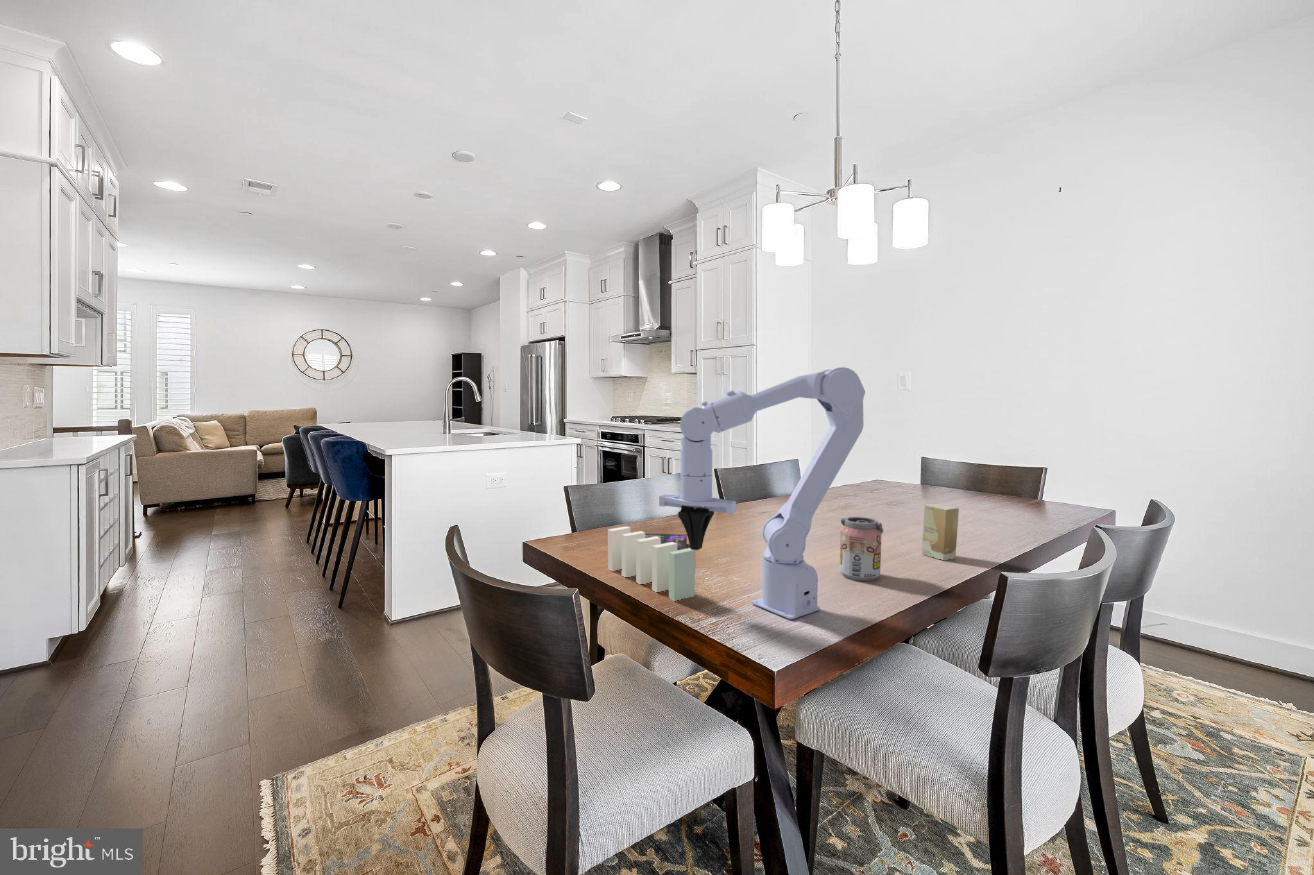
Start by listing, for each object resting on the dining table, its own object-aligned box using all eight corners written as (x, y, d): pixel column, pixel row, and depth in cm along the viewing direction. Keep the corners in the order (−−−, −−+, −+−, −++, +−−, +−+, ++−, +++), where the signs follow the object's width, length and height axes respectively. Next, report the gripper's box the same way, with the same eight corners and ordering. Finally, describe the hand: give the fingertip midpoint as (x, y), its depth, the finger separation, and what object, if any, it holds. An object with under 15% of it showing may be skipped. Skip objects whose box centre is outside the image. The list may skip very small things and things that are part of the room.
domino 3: (660, 580, 115) (660, 537, 115) (640, 585, 112) (640, 541, 112) (656, 578, 117) (655, 536, 116) (636, 583, 114) (636, 539, 113)
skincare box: (920, 554, 135) (922, 504, 134) (933, 552, 136) (935, 502, 135) (944, 561, 129) (946, 509, 128) (957, 559, 131) (959, 507, 130)
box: (685, 571, 125) (687, 545, 144) (686, 555, 124) (687, 532, 144) (623, 568, 126) (633, 543, 145) (623, 553, 125) (633, 530, 145)
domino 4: (677, 588, 111) (677, 543, 110) (656, 593, 108) (656, 547, 107) (672, 585, 112) (672, 541, 112) (651, 591, 109) (652, 545, 109)
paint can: (845, 566, 125) (846, 513, 124) (885, 572, 121) (887, 517, 120) (834, 577, 117) (835, 521, 116) (876, 584, 113) (878, 526, 112)
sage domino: (694, 596, 107) (694, 549, 106) (674, 601, 104) (674, 554, 103) (689, 593, 108) (689, 547, 107) (668, 599, 105) (668, 552, 104)
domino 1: (630, 567, 124) (630, 527, 124) (612, 571, 121) (611, 530, 121) (626, 565, 126) (626, 526, 125) (608, 569, 122) (607, 529, 122)
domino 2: (645, 573, 120) (645, 532, 119) (625, 578, 117) (625, 536, 116) (641, 571, 121) (641, 531, 120) (621, 576, 118) (621, 534, 117)
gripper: (742, 474, 101) (741, 548, 102) (671, 469, 108) (671, 538, 109) (727, 479, 95) (726, 558, 96) (653, 473, 102) (653, 547, 103)
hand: (696, 548), depth 102 cm, fingers closed
